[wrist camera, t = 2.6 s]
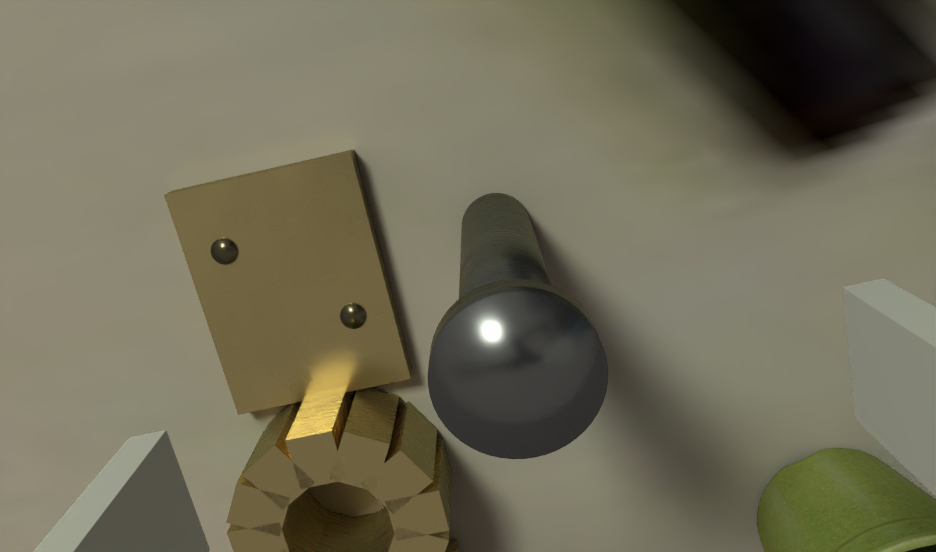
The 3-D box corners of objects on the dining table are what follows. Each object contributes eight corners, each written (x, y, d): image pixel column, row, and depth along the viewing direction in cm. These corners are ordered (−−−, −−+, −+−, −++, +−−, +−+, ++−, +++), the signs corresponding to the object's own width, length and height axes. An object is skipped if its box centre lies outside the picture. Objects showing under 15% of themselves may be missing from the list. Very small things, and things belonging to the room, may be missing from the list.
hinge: (159, 193, 30) (113, 216, 26) (366, 146, 29) (351, 163, 26) (342, 734, 37) (327, 814, 33) (511, 703, 37) (516, 781, 33)
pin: (435, 189, 30) (408, 314, 17) (535, 167, 30) (590, 275, 16) (458, 284, 31) (450, 474, 18) (554, 263, 31) (621, 439, 17)
